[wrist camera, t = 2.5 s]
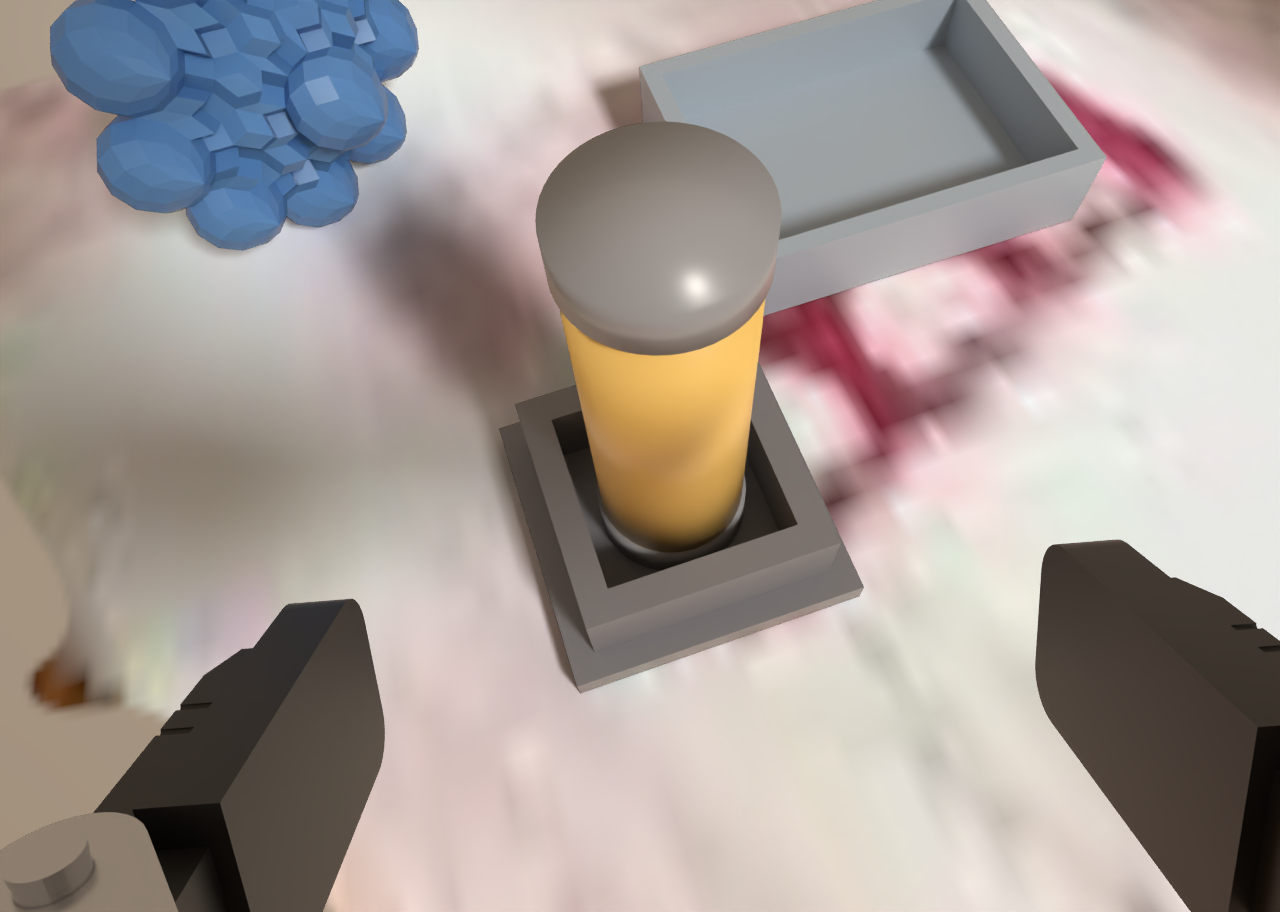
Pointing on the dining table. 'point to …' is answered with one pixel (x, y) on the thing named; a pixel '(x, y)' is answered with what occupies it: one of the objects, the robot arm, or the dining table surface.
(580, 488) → the socket block
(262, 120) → the grapes
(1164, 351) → the dining table surface
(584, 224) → the cylinder
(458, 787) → the dining table surface
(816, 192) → the tray
